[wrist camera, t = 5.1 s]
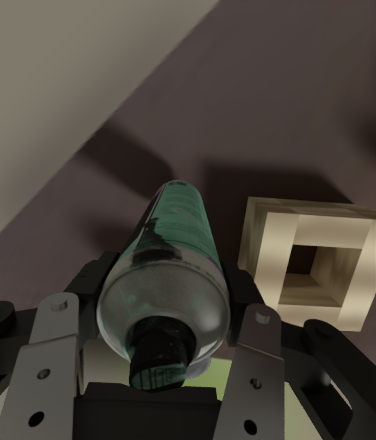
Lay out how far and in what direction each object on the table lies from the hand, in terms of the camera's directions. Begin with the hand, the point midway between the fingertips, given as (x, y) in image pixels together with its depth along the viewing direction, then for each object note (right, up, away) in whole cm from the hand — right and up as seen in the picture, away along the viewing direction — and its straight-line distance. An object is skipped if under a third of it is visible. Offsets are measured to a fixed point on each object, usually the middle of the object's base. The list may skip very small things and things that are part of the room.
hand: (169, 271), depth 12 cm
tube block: (+15, -1, +19) cm, 24 cm away
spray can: (0, +5, +13) cm, 14 cm away
